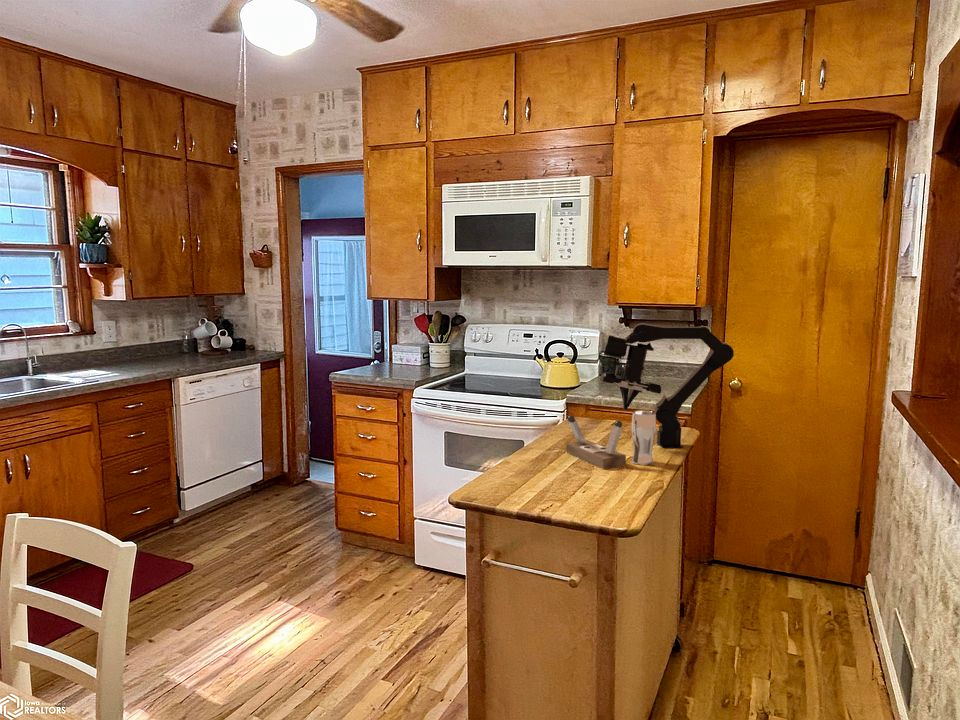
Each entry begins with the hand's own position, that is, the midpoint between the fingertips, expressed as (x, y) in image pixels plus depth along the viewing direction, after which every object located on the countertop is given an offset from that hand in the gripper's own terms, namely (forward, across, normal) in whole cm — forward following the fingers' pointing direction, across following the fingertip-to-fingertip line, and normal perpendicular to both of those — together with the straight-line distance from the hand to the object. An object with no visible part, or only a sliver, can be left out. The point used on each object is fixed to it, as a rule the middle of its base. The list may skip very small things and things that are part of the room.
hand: (624, 409), depth 209 cm
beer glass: (+14, -5, +17) cm, 22 cm away
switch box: (+16, +8, +14) cm, 23 cm away
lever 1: (+12, +12, +8) cm, 19 cm away
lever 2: (+12, +6, +20) cm, 24 cm away
